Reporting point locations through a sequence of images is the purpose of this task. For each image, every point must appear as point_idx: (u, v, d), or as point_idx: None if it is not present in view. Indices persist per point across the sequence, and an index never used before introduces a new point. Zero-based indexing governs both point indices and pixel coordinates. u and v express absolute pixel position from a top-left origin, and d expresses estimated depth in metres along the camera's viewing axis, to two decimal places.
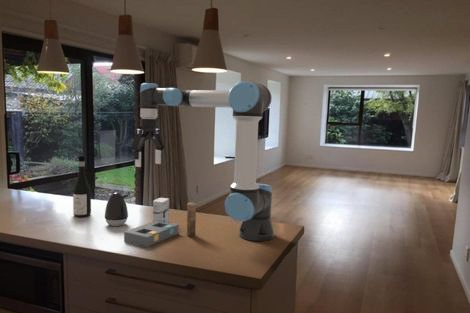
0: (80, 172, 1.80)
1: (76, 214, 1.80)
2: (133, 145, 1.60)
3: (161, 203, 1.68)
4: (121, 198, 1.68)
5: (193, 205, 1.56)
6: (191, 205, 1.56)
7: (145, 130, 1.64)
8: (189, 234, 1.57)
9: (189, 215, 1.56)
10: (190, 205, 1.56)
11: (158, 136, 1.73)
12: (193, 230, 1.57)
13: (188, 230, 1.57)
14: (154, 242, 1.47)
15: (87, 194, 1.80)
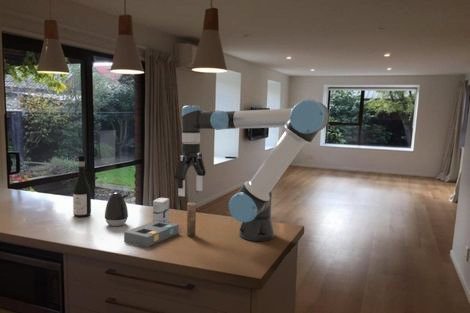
0: (80, 172, 1.80)
1: (76, 214, 1.80)
2: (177, 173, 1.47)
3: (161, 203, 1.68)
4: (121, 198, 1.68)
5: (193, 205, 1.56)
6: (191, 205, 1.56)
7: (188, 156, 1.52)
8: (189, 234, 1.57)
9: (189, 215, 1.56)
10: (190, 205, 1.56)
11: (199, 161, 1.61)
12: (193, 230, 1.57)
13: (188, 230, 1.57)
14: (154, 242, 1.47)
15: (87, 194, 1.80)
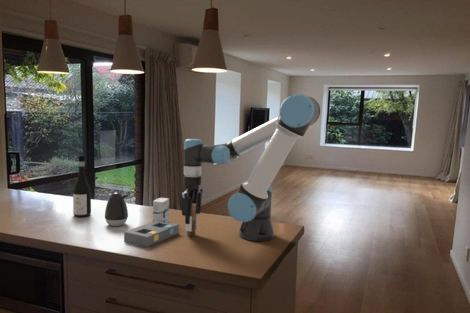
0: (80, 172, 1.80)
1: (76, 214, 1.80)
2: (183, 210, 1.53)
3: (161, 203, 1.68)
4: (121, 198, 1.68)
5: (193, 205, 1.56)
6: None
7: (189, 190, 1.53)
8: (189, 234, 1.57)
9: None
10: None
11: (198, 196, 1.61)
12: (193, 230, 1.57)
13: None
14: (154, 242, 1.47)
15: (87, 194, 1.80)
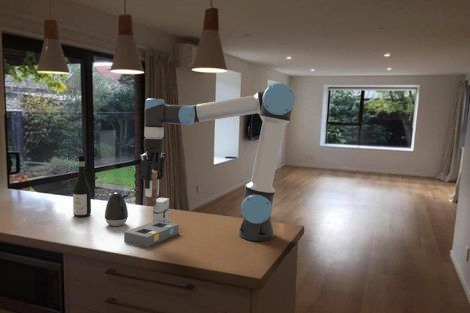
0: (80, 172, 1.80)
1: (76, 214, 1.80)
2: (142, 174, 1.44)
3: (161, 203, 1.68)
4: (121, 198, 1.68)
5: (154, 172, 1.47)
6: None
7: (149, 152, 1.45)
8: (149, 203, 1.49)
9: None
10: None
11: (161, 160, 1.52)
12: (153, 199, 1.49)
13: (148, 199, 1.49)
14: (154, 242, 1.47)
15: (87, 194, 1.80)
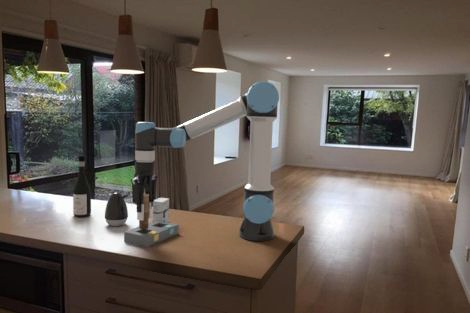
0: (80, 172, 1.80)
1: (76, 214, 1.80)
2: (134, 198, 1.44)
3: (161, 203, 1.68)
4: (121, 198, 1.68)
5: (145, 196, 1.47)
6: (143, 195, 1.46)
7: (140, 176, 1.44)
8: (141, 226, 1.48)
9: None
10: None
11: (153, 183, 1.52)
12: (145, 222, 1.48)
13: (140, 222, 1.48)
14: (154, 242, 1.47)
15: (87, 194, 1.80)
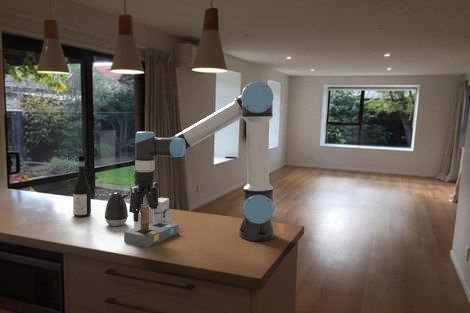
0: (80, 172, 1.80)
1: (76, 214, 1.80)
2: (131, 207, 1.42)
3: (161, 203, 1.68)
4: (121, 198, 1.68)
5: (145, 207, 1.47)
6: (143, 207, 1.47)
7: (140, 185, 1.44)
8: None
9: (141, 217, 1.48)
10: (142, 207, 1.47)
11: (154, 191, 1.53)
12: None
13: None
14: (154, 242, 1.47)
15: (87, 194, 1.80)
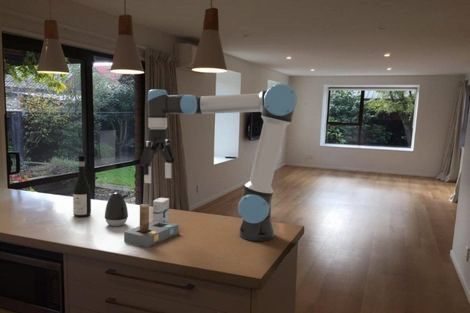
0: (80, 172, 1.80)
1: (76, 214, 1.80)
2: (142, 159, 1.43)
3: (161, 203, 1.68)
4: (121, 198, 1.68)
5: (145, 207, 1.47)
6: (143, 207, 1.47)
7: (154, 142, 1.47)
8: None
9: (141, 217, 1.48)
10: (142, 207, 1.47)
11: (168, 148, 1.56)
12: None
13: None
14: (154, 242, 1.47)
15: (87, 194, 1.80)
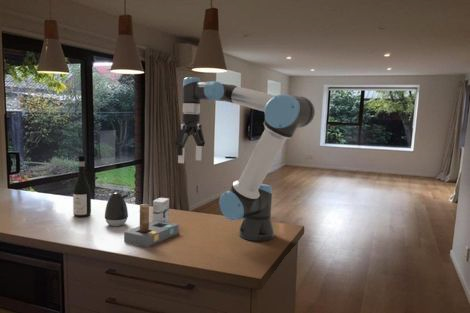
0: (80, 172, 1.80)
1: (76, 214, 1.80)
2: (177, 141, 1.55)
3: (161, 203, 1.68)
4: (121, 198, 1.68)
5: (145, 207, 1.47)
6: (143, 207, 1.47)
7: (188, 125, 1.59)
8: None
9: (141, 217, 1.48)
10: (142, 207, 1.47)
11: (199, 132, 1.69)
12: None
13: None
14: (154, 242, 1.47)
15: (87, 194, 1.80)
